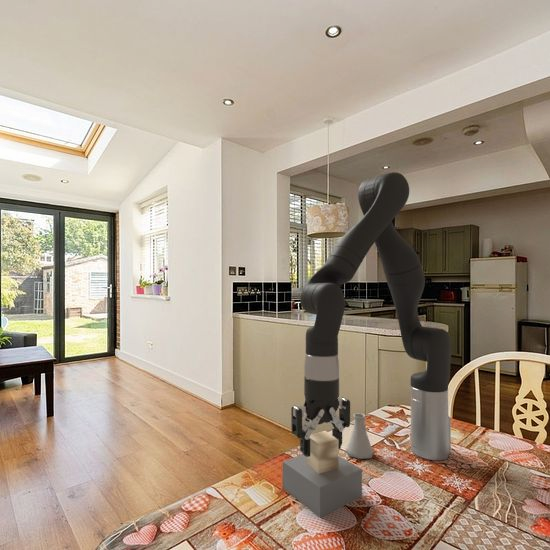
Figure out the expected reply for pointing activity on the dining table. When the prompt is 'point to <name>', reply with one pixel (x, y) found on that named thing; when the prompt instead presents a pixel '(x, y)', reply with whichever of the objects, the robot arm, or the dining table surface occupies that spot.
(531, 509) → the dining table surface
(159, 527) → the dining table surface
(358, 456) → the flask
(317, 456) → the birch block
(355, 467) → the grey box
